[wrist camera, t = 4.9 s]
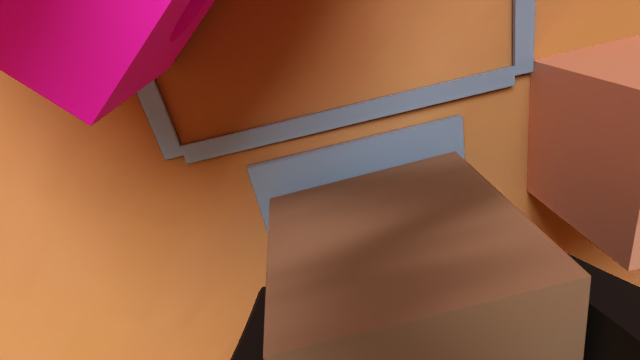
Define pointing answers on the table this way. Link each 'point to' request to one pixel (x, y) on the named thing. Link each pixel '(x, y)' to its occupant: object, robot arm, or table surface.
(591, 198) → the terracotta block
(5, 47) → the toy block
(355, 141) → the frame
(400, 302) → the walnut cube
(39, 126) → the table surface
